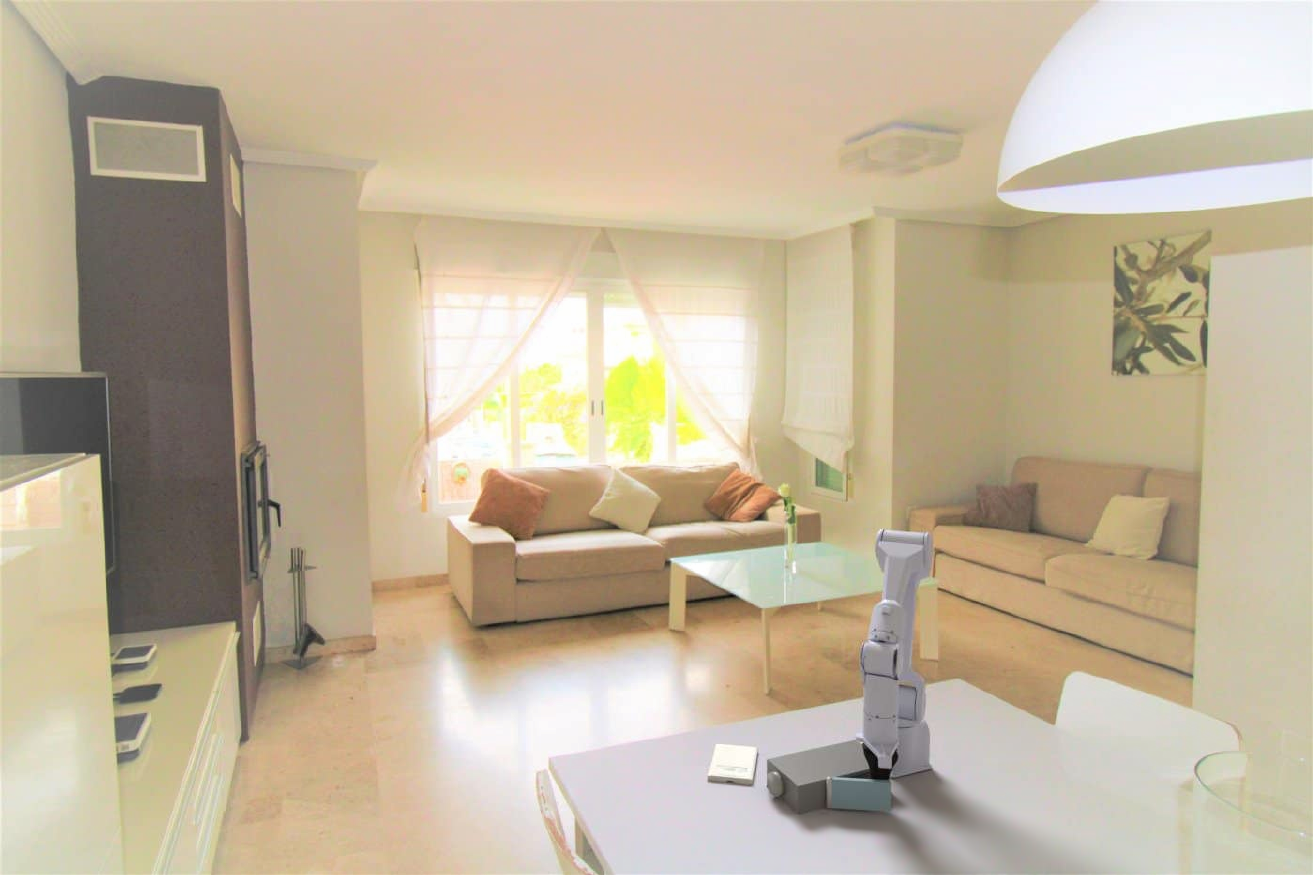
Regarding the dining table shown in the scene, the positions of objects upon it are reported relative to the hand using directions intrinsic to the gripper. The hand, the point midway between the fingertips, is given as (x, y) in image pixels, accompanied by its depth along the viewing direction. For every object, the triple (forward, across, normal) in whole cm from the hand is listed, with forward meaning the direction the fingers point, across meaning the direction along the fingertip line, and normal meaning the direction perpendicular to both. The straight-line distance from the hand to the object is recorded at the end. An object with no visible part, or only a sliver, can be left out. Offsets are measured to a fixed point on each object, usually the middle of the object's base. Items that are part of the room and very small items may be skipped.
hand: (879, 788), depth 135 cm
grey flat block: (+3, -4, -8) cm, 10 cm away
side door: (+2, +2, -4) cm, 5 cm away
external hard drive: (+4, -10, -25) cm, 28 cm away
